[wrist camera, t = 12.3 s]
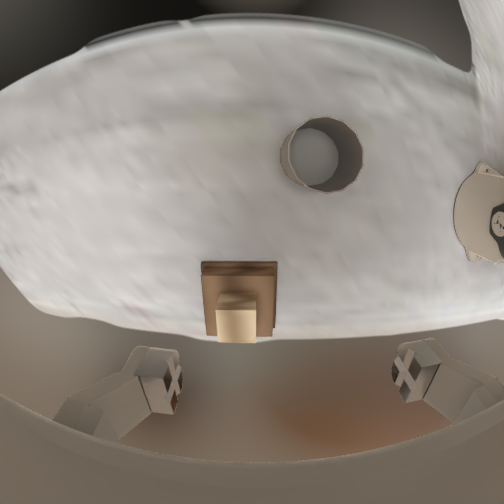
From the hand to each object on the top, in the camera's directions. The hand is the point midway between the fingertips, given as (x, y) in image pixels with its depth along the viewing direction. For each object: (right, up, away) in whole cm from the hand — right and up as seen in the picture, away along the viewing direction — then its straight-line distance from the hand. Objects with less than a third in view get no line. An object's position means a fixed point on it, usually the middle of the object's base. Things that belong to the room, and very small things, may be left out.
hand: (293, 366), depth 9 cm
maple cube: (-3, -4, +30) cm, 30 cm away
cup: (+7, +17, +27) cm, 33 cm away
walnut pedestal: (-3, -3, +34) cm, 34 cm away
